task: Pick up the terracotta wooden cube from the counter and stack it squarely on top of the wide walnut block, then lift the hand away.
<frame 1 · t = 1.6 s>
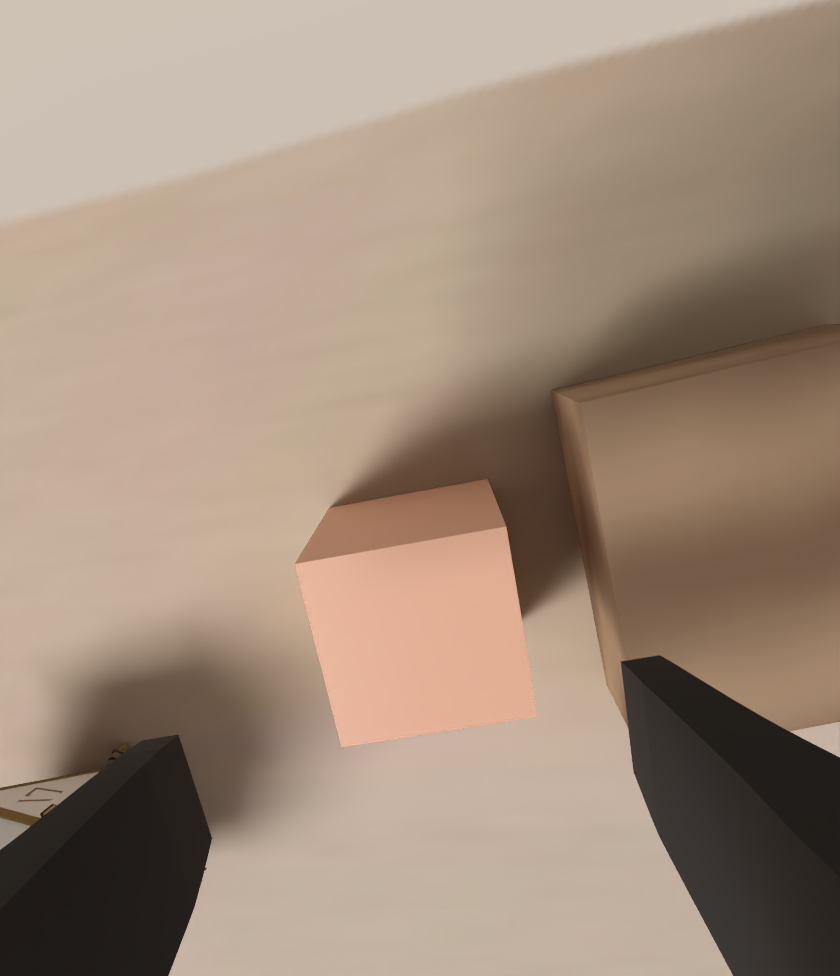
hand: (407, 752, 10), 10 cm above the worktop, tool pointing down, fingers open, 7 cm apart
terracotta cube: (423, 567, 20), on the worktop
walnut block: (704, 515, 19), on the worktop
game die: (106, 805, 22), on the worktop
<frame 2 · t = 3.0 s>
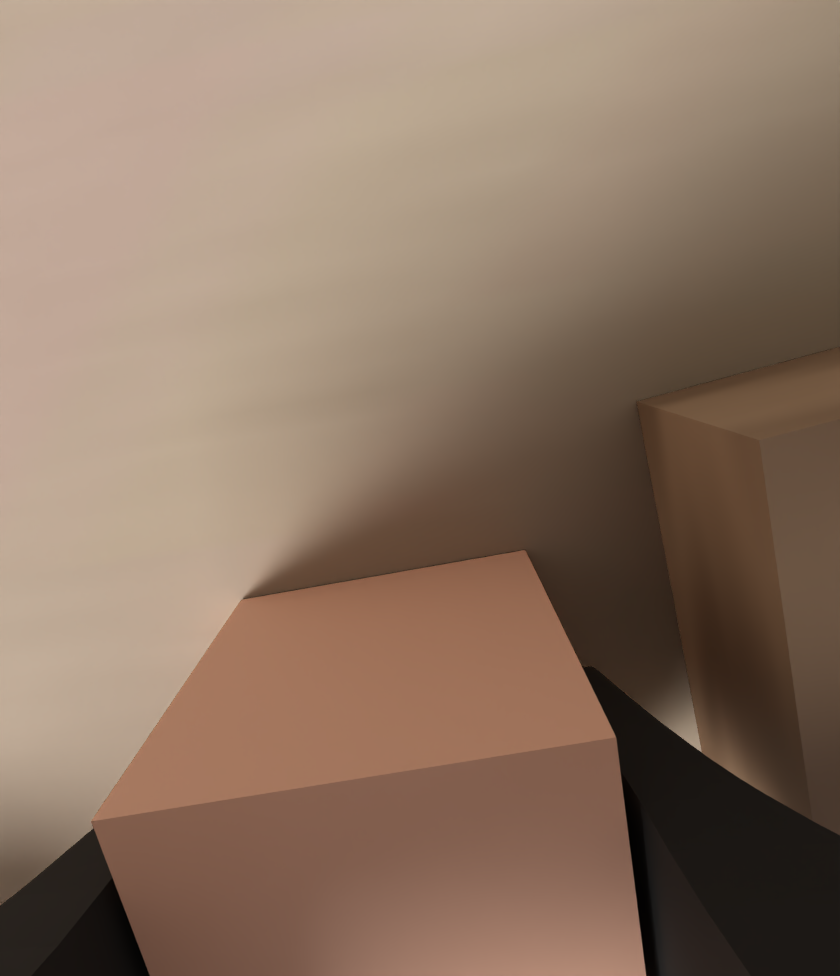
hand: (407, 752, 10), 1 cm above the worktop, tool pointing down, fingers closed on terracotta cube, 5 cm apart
terracotta cube: (409, 701, 11), on the worktop, touching gripper
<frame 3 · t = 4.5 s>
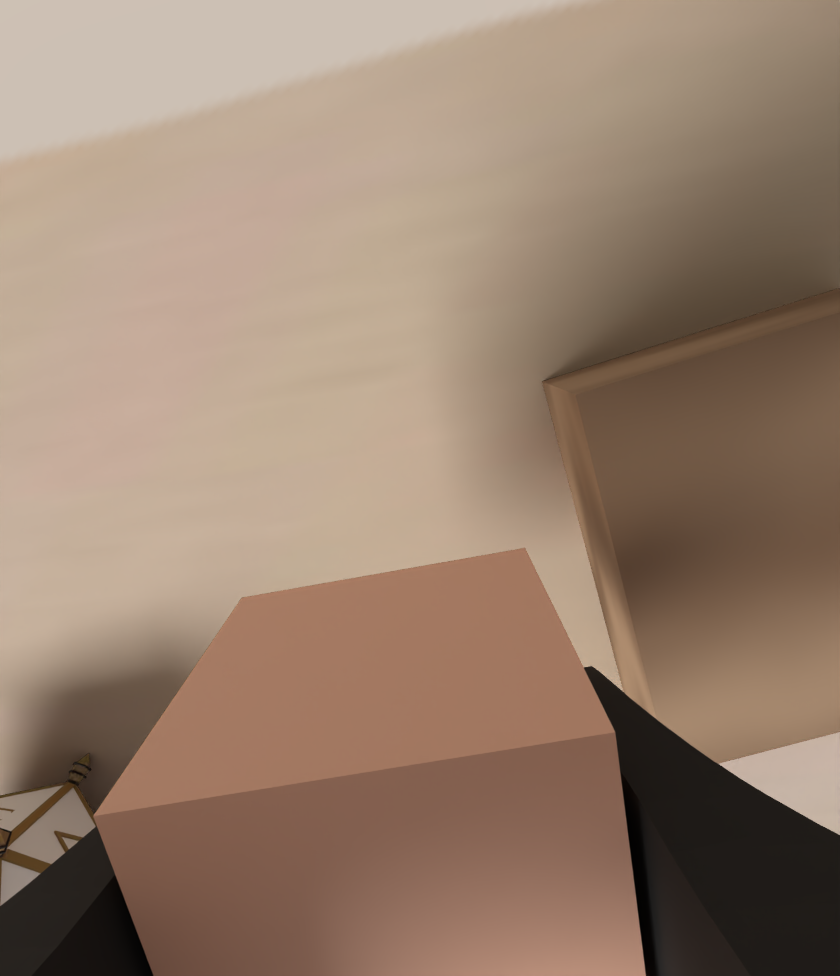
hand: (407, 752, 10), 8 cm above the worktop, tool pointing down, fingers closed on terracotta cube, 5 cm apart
terracotta cube: (409, 698, 11), point 7 cm above the worktop, touching gripper
walnut block: (716, 504, 18), on the worktop
game die: (68, 821, 20), on the worktop
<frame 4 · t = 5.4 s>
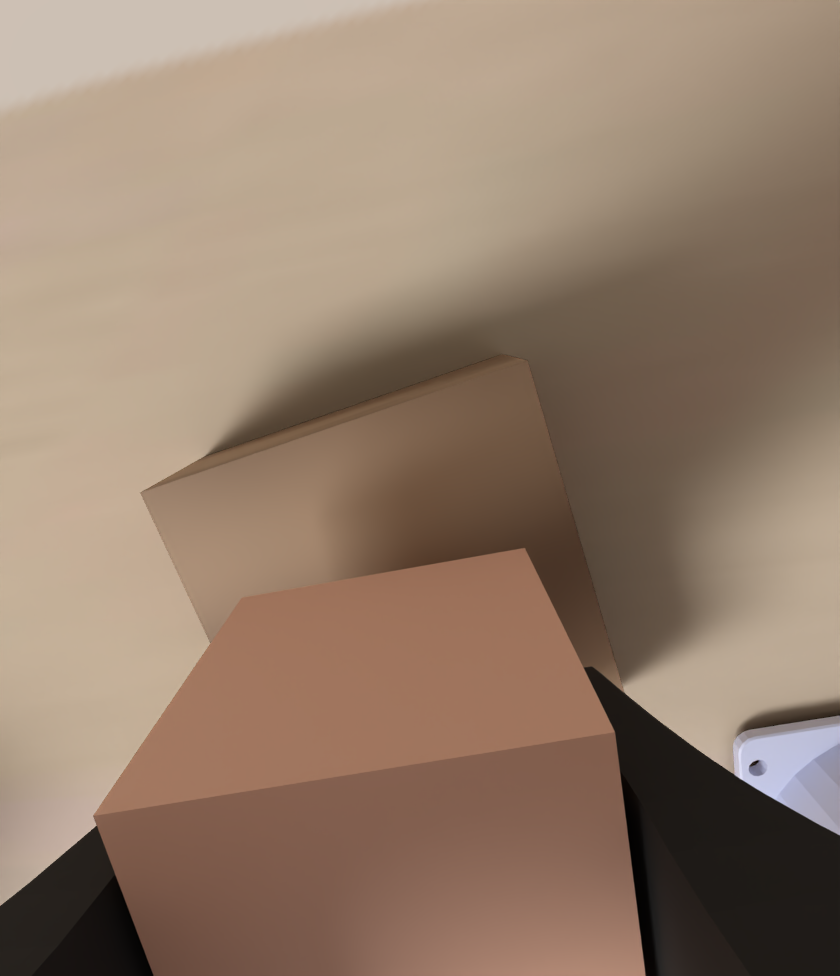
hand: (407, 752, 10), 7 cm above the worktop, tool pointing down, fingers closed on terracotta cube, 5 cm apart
terracotta cube: (408, 698, 11), point 5 cm above the worktop, touching gripper
walnut block: (414, 577, 17), on the worktop
when the fingers open (6 cm above the worktop, at t = 6.0 s): terracotta cube drops 1 cm, resting on walnut block.
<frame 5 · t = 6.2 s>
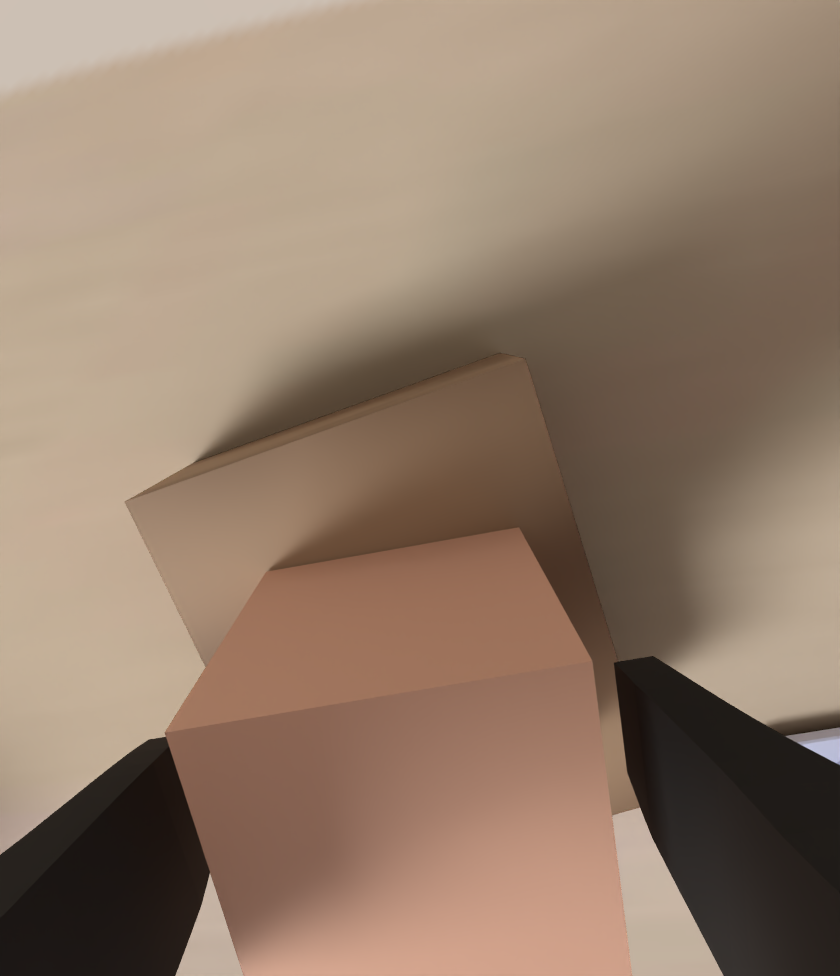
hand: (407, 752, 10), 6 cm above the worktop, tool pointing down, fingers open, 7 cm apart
terracotta cube: (414, 663, 12), point 4 cm above the worktop, touching walnut block
walnut block: (412, 583, 16), on the worktop, touching terracotta cube
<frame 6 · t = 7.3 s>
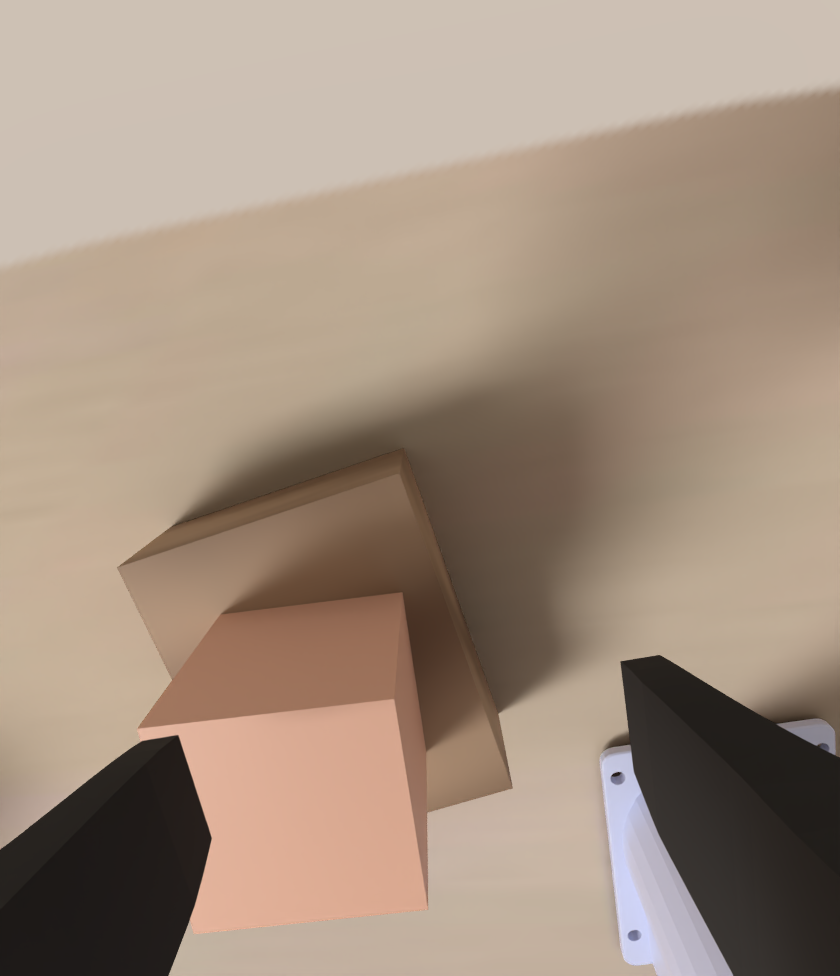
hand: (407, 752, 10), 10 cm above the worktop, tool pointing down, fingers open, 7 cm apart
terracotta cube: (326, 685, 17), point 4 cm above the worktop
walnut block: (342, 618, 21), on the worktop
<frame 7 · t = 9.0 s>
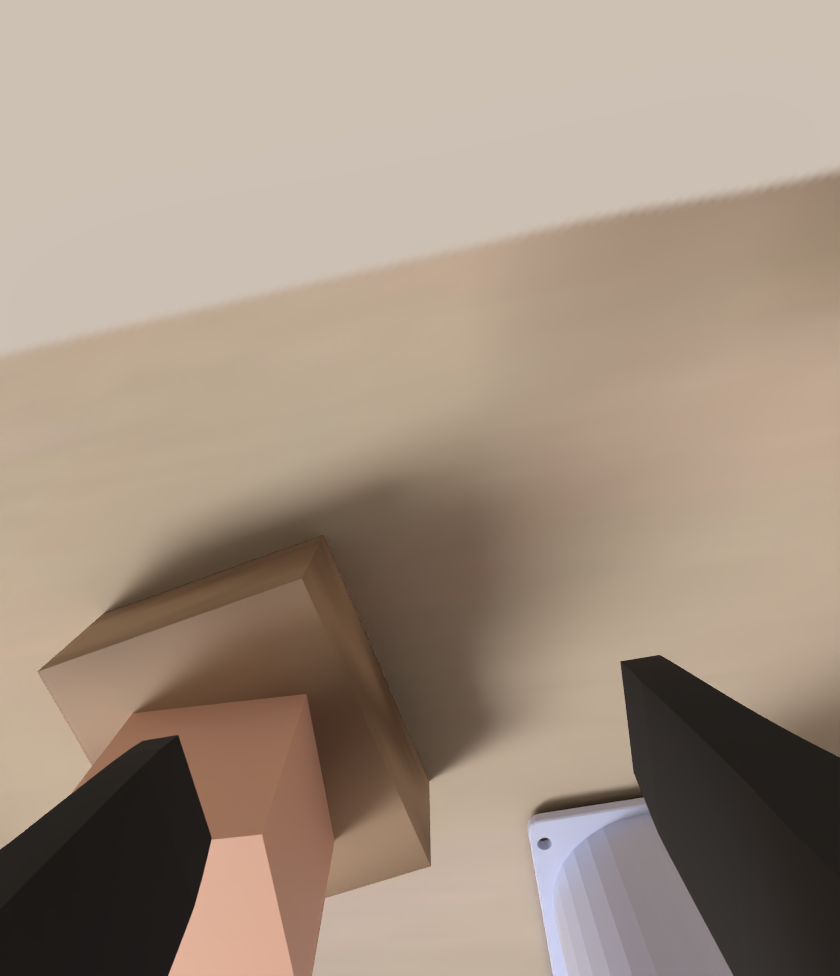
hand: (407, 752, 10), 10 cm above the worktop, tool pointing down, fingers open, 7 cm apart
terracotta cube: (236, 778, 18), point 4 cm above the worktop, touching walnut block
walnut block: (274, 694, 22), on the worktop, touching terracotta cube
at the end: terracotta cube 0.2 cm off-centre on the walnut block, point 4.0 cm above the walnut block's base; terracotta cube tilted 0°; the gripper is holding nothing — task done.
